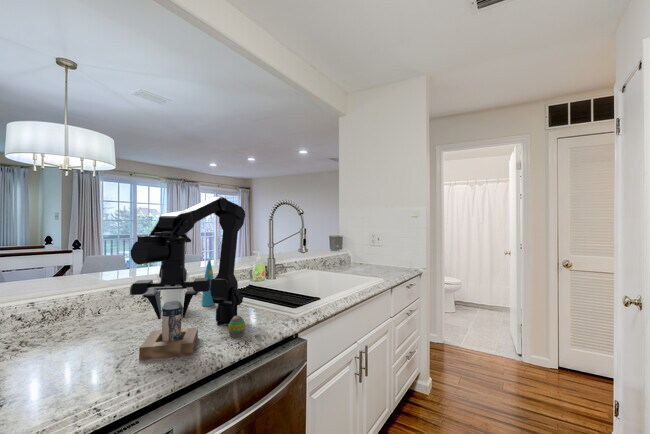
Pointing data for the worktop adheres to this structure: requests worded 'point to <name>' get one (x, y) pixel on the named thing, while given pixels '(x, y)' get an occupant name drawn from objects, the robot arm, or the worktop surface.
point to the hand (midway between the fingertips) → (171, 317)
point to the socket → (168, 345)
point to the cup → (171, 293)
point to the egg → (236, 327)
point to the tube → (207, 295)
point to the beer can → (171, 321)
